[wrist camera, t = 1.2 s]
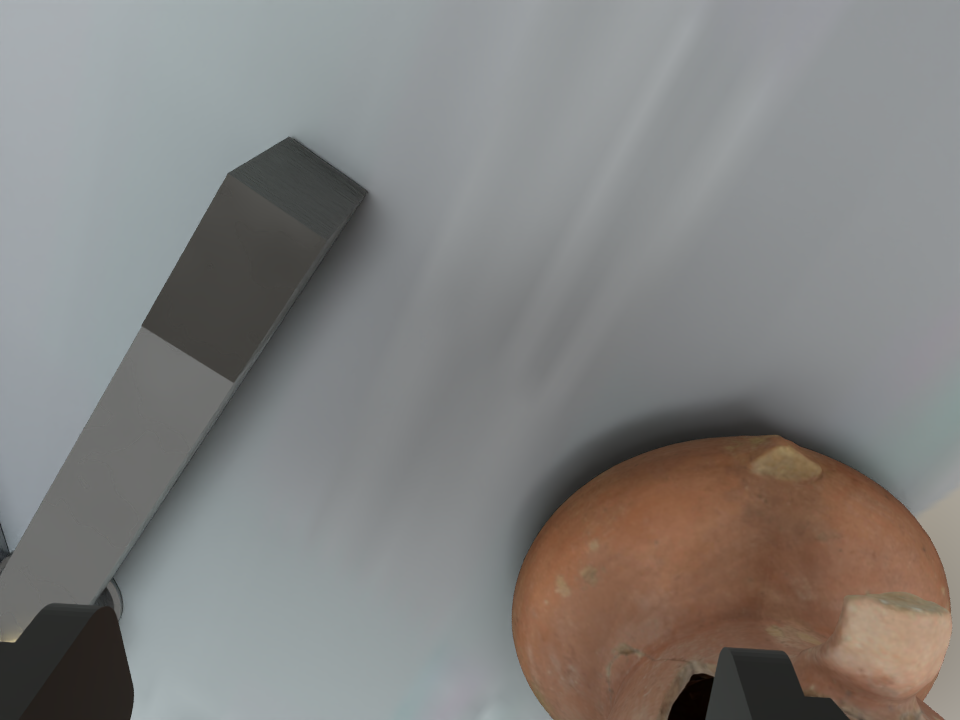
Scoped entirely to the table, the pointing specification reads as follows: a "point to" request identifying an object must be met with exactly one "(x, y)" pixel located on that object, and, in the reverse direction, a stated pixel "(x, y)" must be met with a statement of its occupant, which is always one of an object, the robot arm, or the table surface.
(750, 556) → the ceramic jug
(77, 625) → the robot arm
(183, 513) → the table surface
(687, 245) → the table surface
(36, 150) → the table surface
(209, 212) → the bar
